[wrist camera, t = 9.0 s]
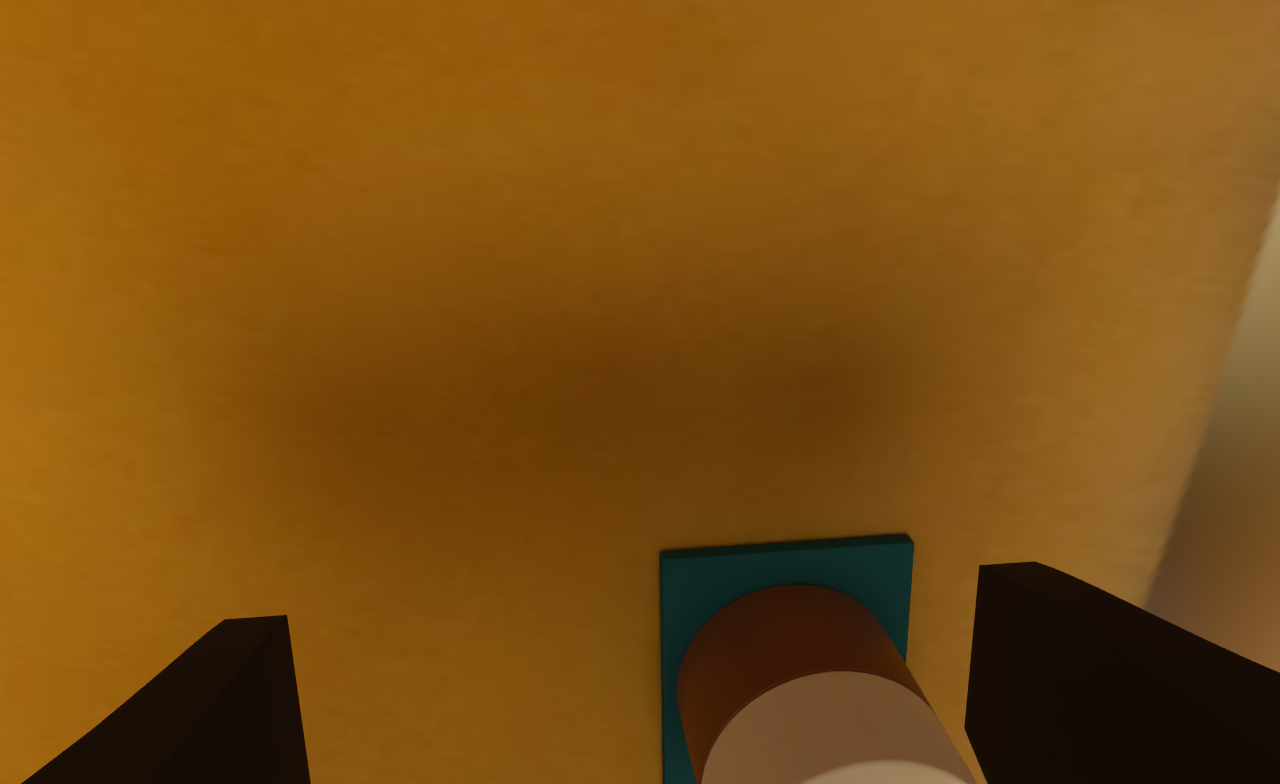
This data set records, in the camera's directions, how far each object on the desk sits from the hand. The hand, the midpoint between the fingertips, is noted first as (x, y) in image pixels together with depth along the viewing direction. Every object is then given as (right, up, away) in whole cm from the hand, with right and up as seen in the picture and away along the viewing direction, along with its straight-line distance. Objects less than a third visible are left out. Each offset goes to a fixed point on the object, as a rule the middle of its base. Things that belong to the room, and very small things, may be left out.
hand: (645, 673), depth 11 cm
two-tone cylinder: (+3, -3, +11) cm, 12 cm away
